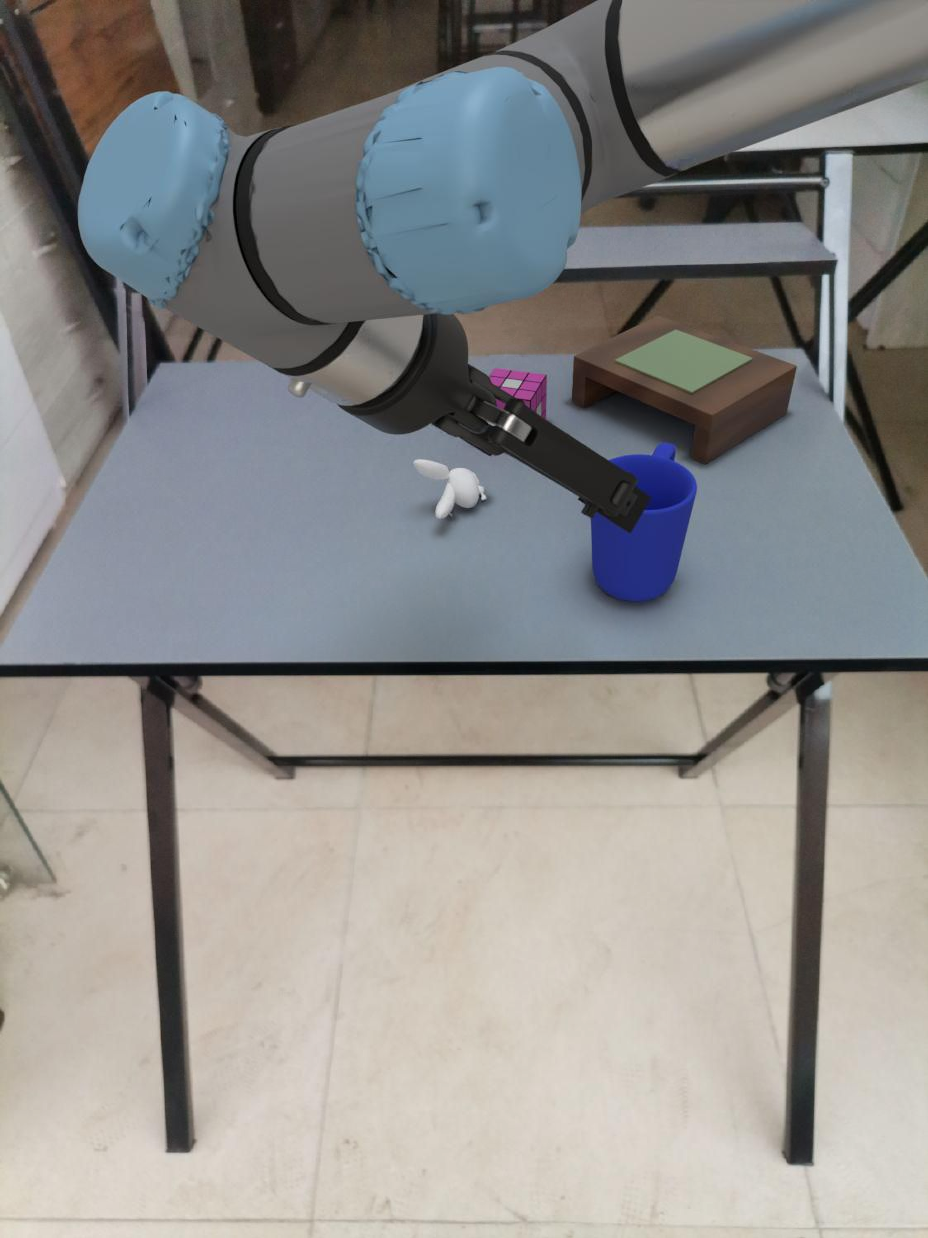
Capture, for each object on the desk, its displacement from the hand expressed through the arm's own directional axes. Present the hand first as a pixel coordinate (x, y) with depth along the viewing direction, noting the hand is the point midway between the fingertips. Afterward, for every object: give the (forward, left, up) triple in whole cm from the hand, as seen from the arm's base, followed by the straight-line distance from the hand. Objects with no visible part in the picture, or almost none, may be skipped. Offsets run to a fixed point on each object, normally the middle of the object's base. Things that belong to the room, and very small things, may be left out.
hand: (562, 474), depth 65 cm
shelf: (+15, -34, -14) cm, 40 cm away
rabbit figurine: (+18, -4, -14) cm, 23 cm away
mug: (0, -10, -14) cm, 17 cm away
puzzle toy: (+24, -18, -14) cm, 33 cm away
